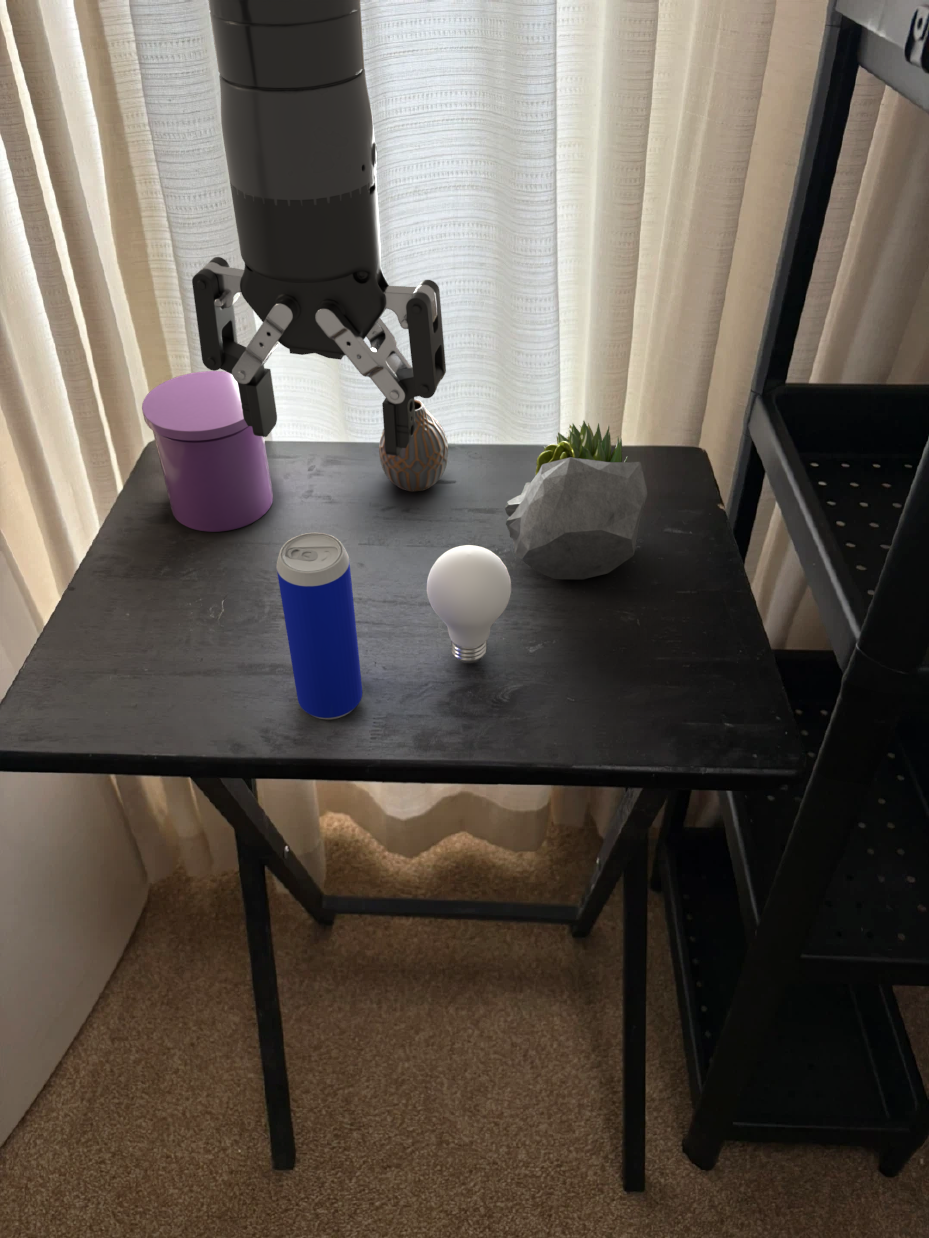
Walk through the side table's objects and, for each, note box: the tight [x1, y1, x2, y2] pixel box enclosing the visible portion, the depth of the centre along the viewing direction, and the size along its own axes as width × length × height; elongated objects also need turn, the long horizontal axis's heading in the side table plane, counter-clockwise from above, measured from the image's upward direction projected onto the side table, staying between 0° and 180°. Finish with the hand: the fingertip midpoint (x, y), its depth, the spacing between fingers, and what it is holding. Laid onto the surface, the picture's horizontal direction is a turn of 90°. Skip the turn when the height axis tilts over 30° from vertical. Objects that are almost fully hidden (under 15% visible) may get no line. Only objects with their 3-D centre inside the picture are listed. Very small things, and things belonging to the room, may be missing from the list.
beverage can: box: [276, 532, 363, 720], centre depth 78 cm, size 5×5×15 cm
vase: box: [378, 398, 449, 492], centre depth 103 cm, size 7×7×9 cm
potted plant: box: [504, 419, 649, 580], centre depth 94 cm, size 12×13×15 cm
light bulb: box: [426, 544, 512, 664], centre depth 82 cm, size 7×7×11 cm
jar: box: [141, 370, 274, 533], centre depth 99 cm, size 11×11×12 cm
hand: (330, 439), depth 64 cm, fingers open, 8 cm apart
